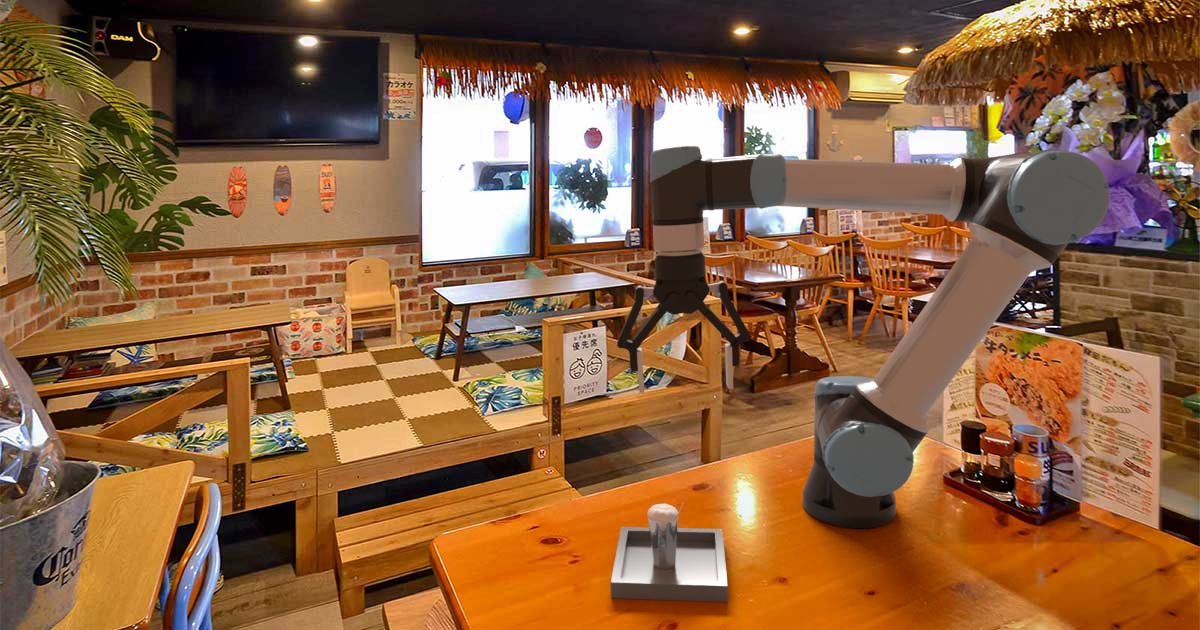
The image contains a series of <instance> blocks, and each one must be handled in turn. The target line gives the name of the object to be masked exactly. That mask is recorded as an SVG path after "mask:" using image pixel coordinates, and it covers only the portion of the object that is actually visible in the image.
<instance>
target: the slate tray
mask: <svg viewBox="0 0 1200 630" xmlns="http://www.w3.org/2000/svg"><path fill="white" fill-rule="evenodd" d="M618 536H619V537H618V542H617V548H616V553H615V558H614V561H613V562H614V563H613V568H612V574H611V579H610V596H611V599H625V600H626V599H629V600H655V601H656V600H658V601H660V600H661V601H684V602H686V601H687V602H688V601H691V602H712V603H713V602H715V603H716V602H717V603H728V602H729V596H728V595H729V593H728V592H729V585H728V575H727V564H726V554H725V544H724V534H723V528H700V527H699V528H696V527H695V528H694V527H693V528H688V527H677V542H676V560H675V565H674V566H673V567H672V568H669V569H659V568H657V567H655V566H654V563H653V557H652V547H651V537H650V530H649V527H645V526H644V527H641V526H640V527H639V526H620V531H619V535H618Z"/></svg>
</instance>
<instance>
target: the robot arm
mask: <svg viewBox="0 0 1200 630" xmlns="http://www.w3.org/2000/svg"><path fill="white" fill-rule="evenodd" d="M649 160H650V161H649V162H650V164H649V166H650V167H649V168H650V171H649V172H650V173H649V175H650V177H649V185H650V186H649V187H650V200H651V201H650V203H651V214H652V216H651V217H652V236H653V237H652V240H653V250H654V251H655V252H656V253H657V254H656V255H655V256H654V259H653V260H654V272H655V273H654V275H655V276H654V277H655V284H654V286H653V287H649V286H648V287H647V286H643V285H640V284H639V285H637V286H636V287H635V298H634V299H635V300H634V301H633V304H632V306H631V309H630V311H629V313H628V315H627V318H626V320H625V322H624V324H623V327H622V329H621V331H620V334H619V336H618V338H617V342H616V345H617V347H618V348H619V349H624V350H627V351H628V353H629V365H630V366H629V368H630V370H631V371H630V372H637V375H638V392H639V394H645V382H644V379H645V378H644V367H643V366H644V364H643V363H644V362H643V348H642V347H640V346H641V345H642V344H643V342H644V341H645V340H646V339H647V337H648V336H649V334H650V333H651V332H652V331H653V330H654V328H655V327H656V326H657V325H658V323H659V322H660V320H661V319H662V318H663V317H665V315H666V314H667V313H668V314H671V315H672V316H673V315H674V316H675V315H680V314H686V315H691V314H692V315H693V313H695V312H697V311H699V312H700V314H702V316H704V318H706V319H707V321H708V322H709V323H710V324H711V325H712V326H713V327H714V328H715V329H716V330H717V331H718V332H719V333H720V335H722V336H723V337H724V338H725V339H726V341H727V343H724V355H725V356H724V358H725V360H724V361H725V364H724V365H725V385H726V386H727V387H726V388H727V390H733V389H734V372H733V370H734V369H733V367H739V364H740V345H741V344H743V343H745V342H746V343H747V342H750V341H751V339H752V336H751V334H750V332H749V330H748V329H747V327H746V325H745V323H744V322H743V319H742V318H741V316H740V314H739V312H738V311H737V309H736V307H735V305H734V304H733V302H732V300H731V298H730V295H729V289H728V284H727V283H726V282H725V281H724V280H719V281H718V282H715V283H709V284H708V282H707V279H706V258H705V257H706V255H705V254H704V252H702V250H703V249H704V248H705V233H704V231H705V230H704V216H703V215H704V211H715V210H716V211H717V210H740V209H743V210H744V209H757V208H758V209H760V210H761V209H762V210H763V209H766V208H772V207H791V208H793V207H794V208H807V209H808V208H811V209H830V210H831V209H832V210H833V209H834V210H847V211H848V210H850V211H851V210H852V211H866V212H867V211H868V212H885V213H887V212H888V213H889V212H890V213H904V214H905V213H907V214H925V215H926V214H928V215H942V216H943V217H944V218H945V219H946V220H947V222H954V223H955V222H956V223H965V224H966V223H967V224H968V230H969V234H970V241H969V243H968V244H967V245H966V247H965V248H964V250H963V251H962V252H961V254H960V256H959V257H958V258H957V260H956V261H955V262H954V264H953V266H952V267H951V268H950V270H949V271H948V272H947V274H946V275H945V277H944V278H943V280H942V281H941V282H940V284H939V285H938V286H937V288H936V290H935V291H934V292H933V294H932V295H931V297H930V298H929V300H928V301H927V302H926V304H925V305H924V307H923V308H922V310H921V311H920V313H919V314H918V316H917V317H916V318H915V320H914V321H913V323H912V324H911V325H910V326H909V328H908V330H907V331H906V332H905V334H904V335H903V337H902V339H901V340H900V341H899V343H898V344H897V345H896V346H895V348H894V349H893V352H892V353H891V354H890V356H889V357H888V358H887V360H886V361H885V363H884V364H883V366H882V367H881V368H880V370H879V371H878V372H877V374H876V375H875V377H874V378H873V377H866V376H854V375H841V376H838V375H837V376H827V377H823V378H820V379H818V381H817V382H816V383H815V389H814V394H813V398H814V432H813V433H814V437H813V438H814V439H813V441H814V443H813V450H814V451H813V463H812V466H811V468H810V471H809V474H808V476H807V479H806V482H805V485H804V487H803V489H802V507H803V509H804V510H805V511H806V513H807V514H809V515H810V516H811V517H813V518H814V519H817V520H819V521H820V522H824V523H827V524H829V525H833V526H837V527H841V528H842V527H843V528H849V529H850V528H851V529H871V528H878V527H880V526H881V527H882V526H884V525H887V524H888V523H890V522H892V521H893V520H894V519H895V517H896V515H897V514H896V513H897V511H896V510H897V501H896V496H895V494H894V492H896V491H898V490H899V489H901V488H902V487H903V486H904V485H905V484H906V483H907V482H908V480H909V479H910V477H911V474H912V472H913V468H914V462H915V461H914V459H915V457H914V452H915V450H916V449H917V447H919V445H920V443H922V441H923V440H924V438H925V436H926V435H927V434H928V433H929V431H930V428H929V421H928V416H927V415H928V413H929V411H931V409H932V408H933V406H934V405H935V404H936V402H937V401H938V400H939V398H940V397H941V395H942V394H943V393H944V391H945V390H946V389H947V387H948V386H949V384H950V383H952V380H953V379H954V378H955V376H956V375H957V373H958V372H959V371H960V370H961V368H962V367H963V365H964V364H965V363H966V361H967V360H968V359H969V358H970V356H971V355H972V353H973V352H974V350H975V349H976V348H977V347H978V346H979V344H980V342H981V341H982V340H983V338H984V337H985V336H986V334H988V332H989V331H990V329H991V327H992V326H993V325H994V323H995V322H996V321H997V319H998V318H999V316H1001V314H1002V313H1003V311H1004V310H1005V308H1006V307H1007V306H1008V305H1009V303H1010V302H1011V300H1012V299H1013V298H1014V296H1015V295H1016V293H1017V292H1018V291H1019V289H1020V288H1021V287H1022V285H1023V284H1024V282H1026V280H1027V279H1028V277H1029V276H1030V274H1032V273H1033V272H1035V271H1038V270H1043V269H1048V268H1051V267H1052V265H1054V263H1055V261H1057V259H1058V258H1059V257H1060V255H1061V254H1062V252H1064V250H1065V248H1066V247H1067V246H1068V244H1072V243H1075V242H1077V241H1079V240H1081V239H1084V238H1085V237H1087V236H1088V235H1090V234H1091V233H1093V232H1094V231H1095V230H1096V229H1097V228H1098V227H1099V225H1100V224H1101V223H1102V222H1103V220H1104V218H1105V216H1106V215H1107V212H1108V209H1109V207H1110V206H1109V205H1110V201H1111V190H1110V187H1109V182H1108V178H1107V176H1106V175H1105V173H1104V171H1103V169H1101V167H1100V166H1099V165H1098V164H1097V163H1096V162H1095V161H1094V160H1093V159H1091V158H1089V156H1086V155H1083V154H1082V153H1078V152H1074V151H1068V150H1065V149H1060V148H1058V149H1055V148H1050V149H1049V148H1048V149H1043V150H1040V151H1031V152H1029V151H1025V152H1016V153H1015V152H1014V153H1011V154H1010V153H1009V154H1004V155H998V156H990V157H977V158H971V157H970V158H967V157H966V158H965V157H958V158H955V159H954V160H953V161H951V163H948V164H944V163H943V164H942V163H918V162H917V163H916V162H914V163H912V162H891V161H889V162H886V161H885V162H884V161H883V162H882V161H863V160H862V161H860V160H859V161H858V160H857V161H856V160H830V159H829V160H828V159H806V158H805V159H802V158H801V159H800V158H785V157H784V156H783V155H782V154H779V153H771V154H768V153H758V154H750V155H749V154H748V155H738V156H737V155H736V156H728V157H727V156H725V157H717V158H712V157H711V158H708V157H703V155H702V153H701V149H700V147H699V146H698V145H683V146H682V145H679V146H668V147H667V146H666V147H659V148H656V149H654V150H652V152H651V154H650V158H649ZM710 292H711V293H713V295H714V296H715V297H716V298H720V299H719V300H720V301H721V303H722V304H723V306H724V308H725V311H726V312H727V313H728V315H729V317H730V319H731V321H732V322H733V324H734V326H735V328H736V329H737V332H738V333H737V334H734V333H733V332H732V331H731V329H730V328H729V327H728V326H727V325H726V324H725V323H724V322H723V321H722V320H721V319H720V318H719V317H718V316H717V315H716V314H715V313H714V312H713V311H712V310H711V308H710V307H709V306H708V305H707V304H706V303H705V300H706V298H707V296H708V295H709V293H710ZM651 296H654V298H655V299H656V300H657V302H658V303H659V304H658V305H657V306H656V307H655V309H654V311H653V312H651V314H650V316H649V317H648V318H647V319H646V321H645V322H644V323H643V324H642V326H641V328H640V329H638V331H637V332H636V334H635V335H634V336H633V338H632V339H629V337H630V335H631V332H632V330H633V327H634V326H635V324H636V322H637V319H638V317H639V315H640V312H641V309H642V307H643V304H644V302H647V301H648V300H649V298H650V297H651Z"/></svg>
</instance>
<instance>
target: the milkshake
mask: <svg viewBox="0 0 1200 630" xmlns="http://www.w3.org/2000/svg"><path fill="white" fill-rule="evenodd" d="M683 506H684V501H683V502H682V505H681V506H680V508H679V511H678V509H677V508H676V507H675V506H673V505H670V504H668V503H658V504H657V503H656V504H654V505H652V506H651V507H650V508H649V509H648V510H647V521H648V526H649V530H650V537H651V547H652V557H653V563H654V566H655V567H657V568H659V569H669V568H672V567H673V566H674V565H675V560H676V542H677V528H679V527H678V523H679V515H680V513H681V510H682V507H683Z"/></svg>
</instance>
